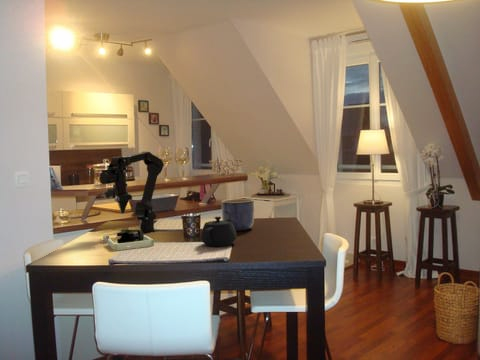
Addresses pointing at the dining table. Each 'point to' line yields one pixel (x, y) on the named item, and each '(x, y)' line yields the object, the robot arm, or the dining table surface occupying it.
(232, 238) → the teapot
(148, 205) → the robot arm
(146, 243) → the tray
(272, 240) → the dining table surface
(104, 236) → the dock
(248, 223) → the planter
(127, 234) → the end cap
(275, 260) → the dining table surface
